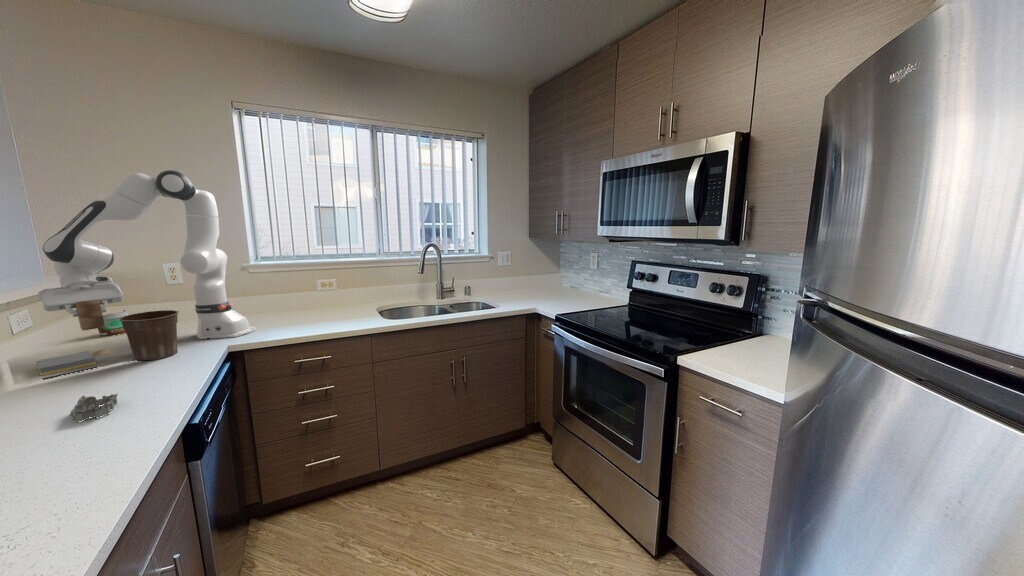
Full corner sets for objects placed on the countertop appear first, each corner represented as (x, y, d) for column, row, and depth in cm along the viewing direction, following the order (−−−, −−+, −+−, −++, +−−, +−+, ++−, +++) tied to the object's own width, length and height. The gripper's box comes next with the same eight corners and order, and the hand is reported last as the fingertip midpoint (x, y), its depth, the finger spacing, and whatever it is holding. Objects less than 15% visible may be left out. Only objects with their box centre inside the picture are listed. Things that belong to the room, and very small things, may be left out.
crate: (102, 324, 146) (96, 299, 144) (105, 326, 142) (99, 300, 141) (80, 328, 141) (74, 302, 139) (83, 330, 138) (76, 303, 136)
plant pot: (195, 351, 149) (188, 311, 146) (144, 365, 134) (136, 321, 131) (168, 347, 154) (161, 308, 152) (116, 361, 139) (108, 318, 137)
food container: (106, 338, 168) (102, 316, 166) (96, 337, 169) (91, 315, 168) (138, 330, 180) (135, 310, 178) (128, 330, 181) (124, 309, 180)
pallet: (110, 352, 149) (109, 348, 149) (115, 356, 145) (114, 352, 144) (80, 358, 143) (79, 354, 142) (84, 362, 138) (83, 358, 138)
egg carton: (85, 408, 103) (82, 394, 103) (123, 402, 107) (120, 388, 107) (66, 426, 94) (63, 410, 94) (108, 417, 98) (105, 402, 98)
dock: (90, 361, 139) (88, 351, 138) (97, 368, 132) (94, 357, 132) (38, 372, 129) (35, 361, 129) (42, 380, 122) (39, 368, 122)
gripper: (35, 284, 134) (45, 314, 130) (116, 276, 151) (127, 303, 147) (37, 295, 138) (47, 325, 134) (116, 286, 154) (127, 313, 150)
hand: (90, 313), depth 140 cm, fingers closed on crate, 5 cm apart
